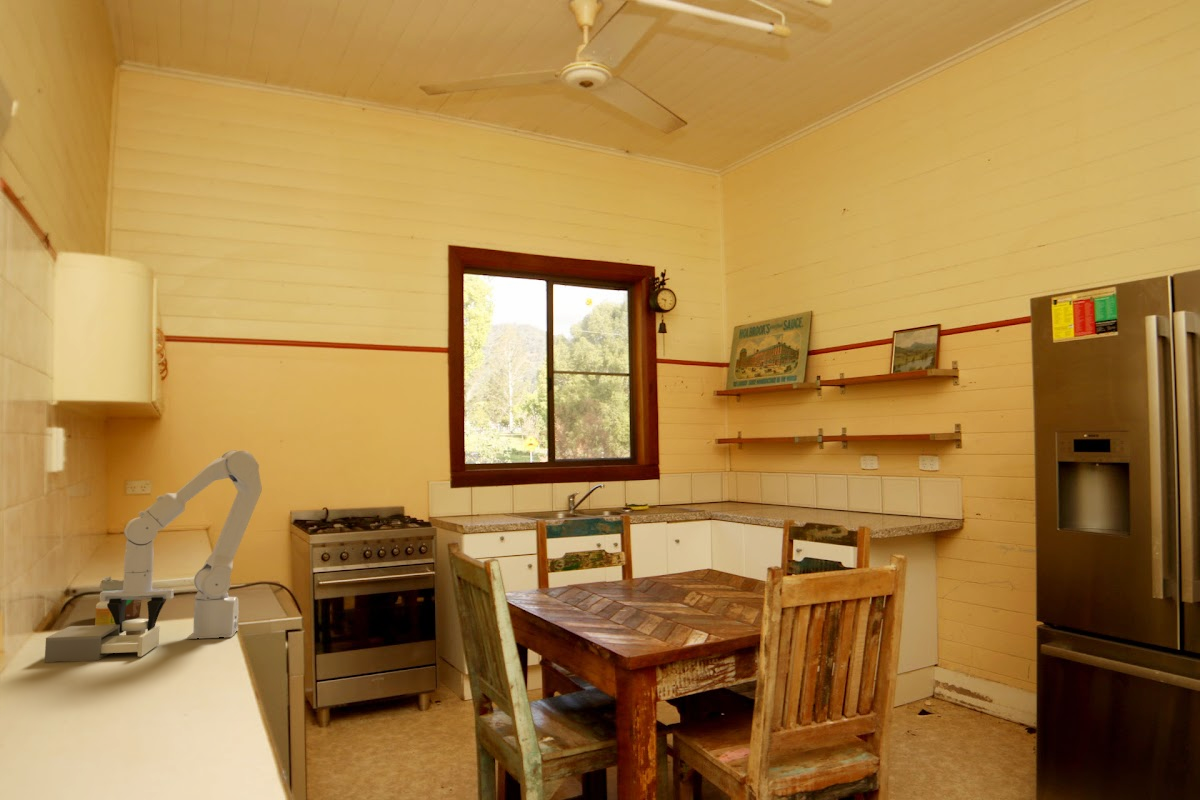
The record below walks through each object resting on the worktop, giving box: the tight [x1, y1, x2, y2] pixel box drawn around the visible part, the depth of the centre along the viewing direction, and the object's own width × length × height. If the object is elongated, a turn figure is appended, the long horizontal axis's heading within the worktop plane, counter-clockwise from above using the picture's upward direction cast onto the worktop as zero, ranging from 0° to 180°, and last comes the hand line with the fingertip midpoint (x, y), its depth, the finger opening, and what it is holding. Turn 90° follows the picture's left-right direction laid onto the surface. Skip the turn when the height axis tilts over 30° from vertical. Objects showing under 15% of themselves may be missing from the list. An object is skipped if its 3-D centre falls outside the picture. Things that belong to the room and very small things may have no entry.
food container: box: [99, 576, 143, 620], centre depth 206 cm, size 12×6×10 cm, turn 73°
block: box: [125, 629, 146, 635], centre depth 178 cm, size 3×3×4 cm
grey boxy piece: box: [44, 624, 120, 663], centre depth 169 cm, size 10×11×5 cm
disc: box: [122, 618, 148, 632], centre depth 179 cm, size 6×6×2 cm
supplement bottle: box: [94, 592, 116, 625], centre depth 189 cm, size 5×5×10 cm
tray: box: [101, 625, 160, 657], centre depth 171 cm, size 10×11×4 cm
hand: (135, 632), depth 179 cm, fingers closed on disc, 6 cm apart
